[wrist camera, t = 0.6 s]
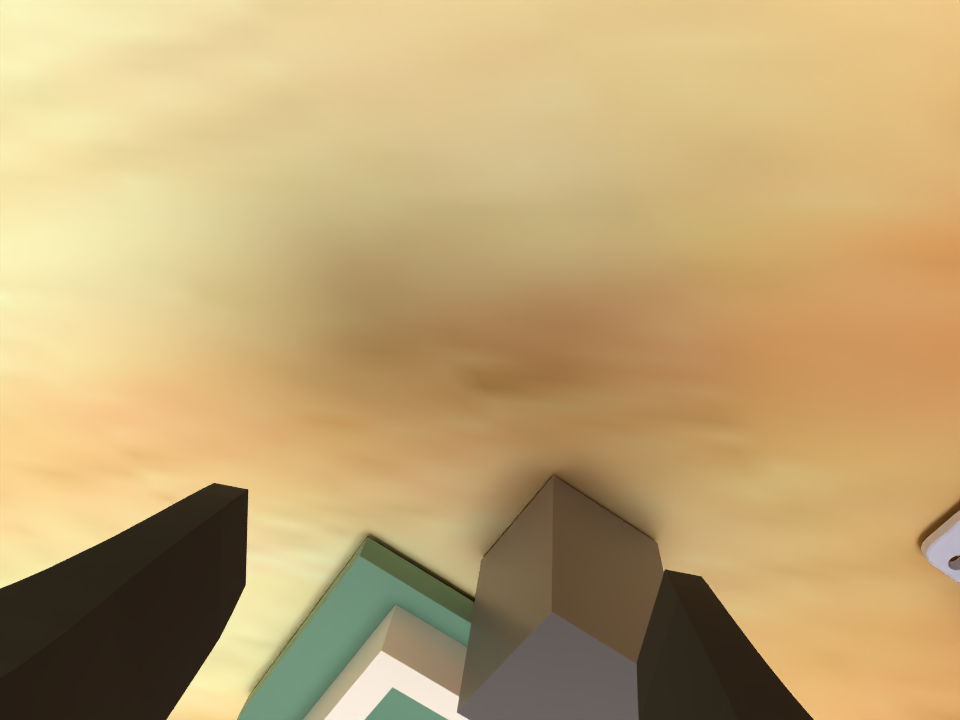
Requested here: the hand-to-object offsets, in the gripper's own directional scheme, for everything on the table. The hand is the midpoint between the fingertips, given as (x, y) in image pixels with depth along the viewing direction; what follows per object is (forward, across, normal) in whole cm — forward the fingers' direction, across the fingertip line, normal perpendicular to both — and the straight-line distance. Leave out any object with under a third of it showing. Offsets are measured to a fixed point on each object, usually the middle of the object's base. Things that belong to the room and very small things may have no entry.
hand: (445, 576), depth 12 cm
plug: (+9, -3, +6) cm, 11 cm away
